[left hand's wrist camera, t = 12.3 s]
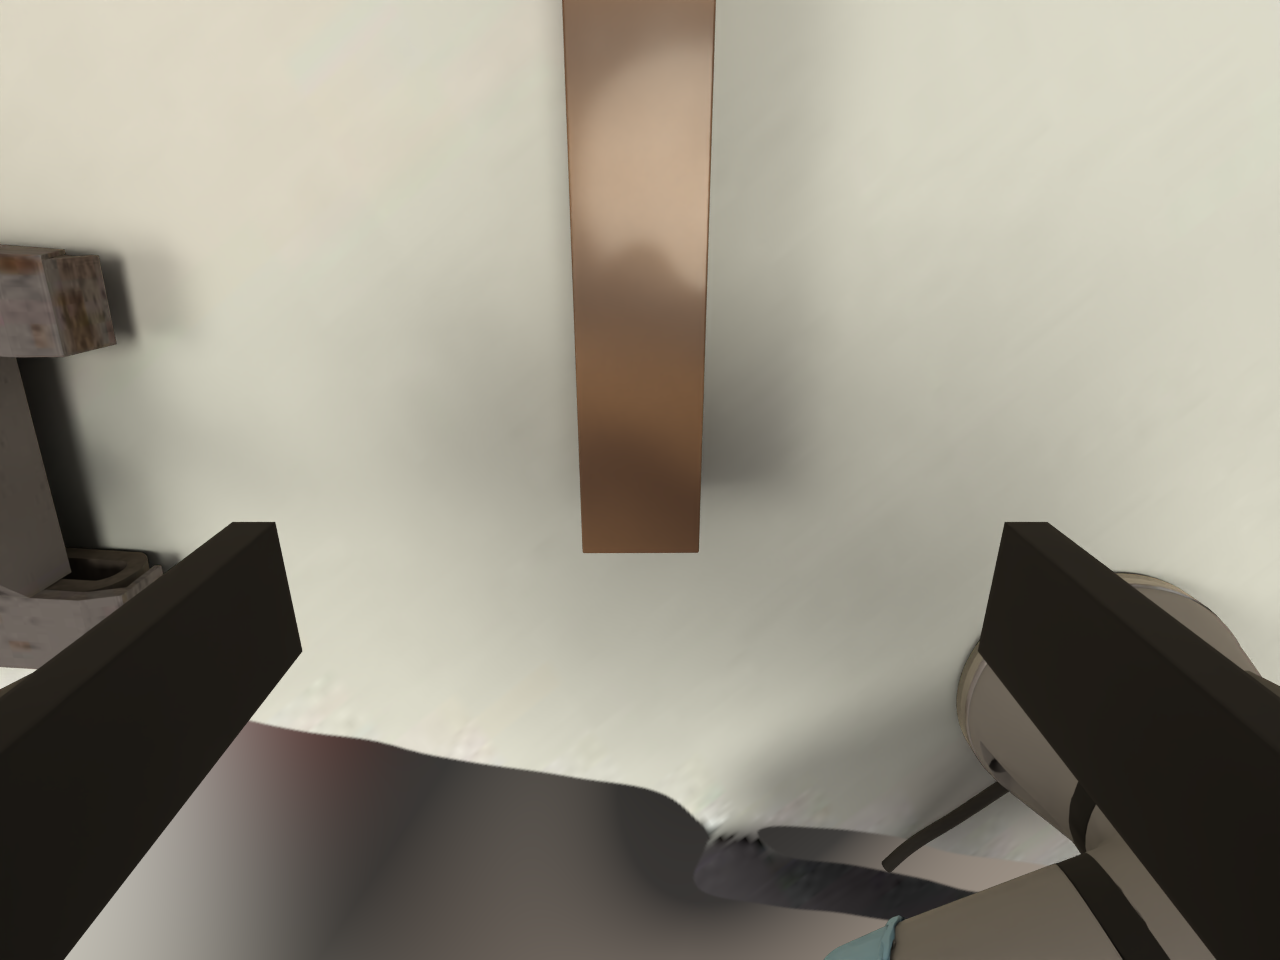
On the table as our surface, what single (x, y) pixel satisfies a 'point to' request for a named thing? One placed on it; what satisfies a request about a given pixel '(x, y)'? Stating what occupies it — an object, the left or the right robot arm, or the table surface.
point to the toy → (14, 471)
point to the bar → (639, 263)
